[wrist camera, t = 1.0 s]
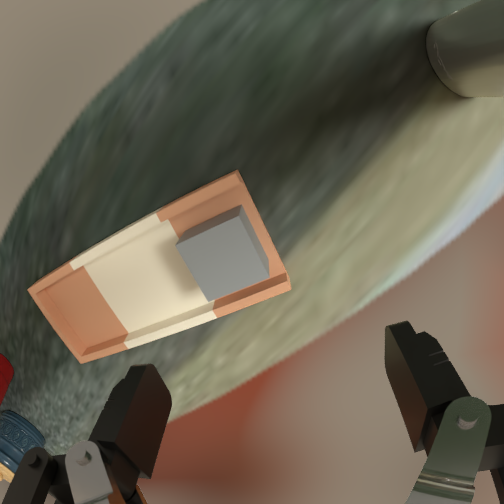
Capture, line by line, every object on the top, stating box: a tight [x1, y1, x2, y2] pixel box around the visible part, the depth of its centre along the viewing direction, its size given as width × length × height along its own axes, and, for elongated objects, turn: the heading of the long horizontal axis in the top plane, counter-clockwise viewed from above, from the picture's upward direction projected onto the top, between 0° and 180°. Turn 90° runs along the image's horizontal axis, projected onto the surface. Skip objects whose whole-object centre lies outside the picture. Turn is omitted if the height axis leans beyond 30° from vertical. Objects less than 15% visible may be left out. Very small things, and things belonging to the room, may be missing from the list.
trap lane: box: [27, 169, 291, 364], centre depth 32 cm, size 29×12×2 cm, turn 115°
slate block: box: [175, 204, 270, 302], centre depth 28 cm, size 6×6×4 cm
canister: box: [0, 410, 45, 483], centre depth 41 cm, size 13×13×18 cm
